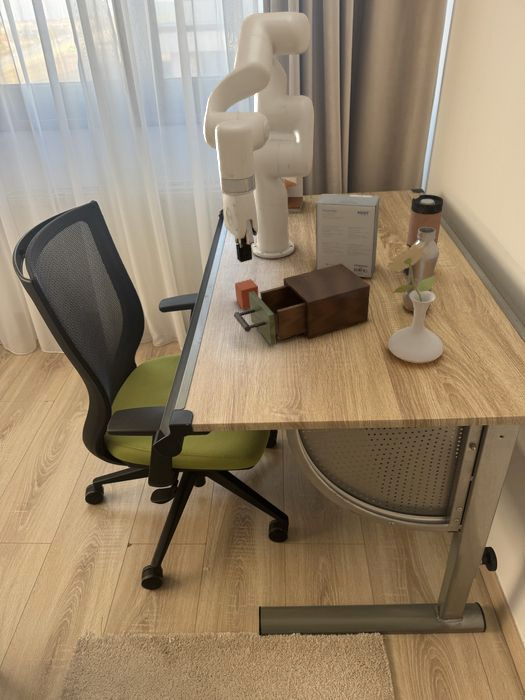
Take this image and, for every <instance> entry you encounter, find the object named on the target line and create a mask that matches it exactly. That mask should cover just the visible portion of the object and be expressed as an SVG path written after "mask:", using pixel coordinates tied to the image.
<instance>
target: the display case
mask: <svg viewBox="0 0 525 700" xmlns="http://www.w3.org/2000/svg"><path fill="white" fill-rule="evenodd" d="M296 139H297V138H296V136H295V135H270V136H269V139H268V140H296ZM303 178H304V177H281V178H280V180H281V181H282V182H283V184H284V185H285V187H286V190H287V194H288V213H301V211H302V208H303V203H304V179H303Z"/></svg>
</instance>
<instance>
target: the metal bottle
mask: <svg viewBox="0 0 525 700" xmlns="http://www.w3.org/2000/svg"><path fill="white" fill-rule="evenodd" d="M435 233H436V230H435V229H434V228H431V227H421V228H419V229H418V235H417V239H418V240H417V241H416V242H415V243H414V244H413V245H416V244H418V243H419V248H420V247H421V246H423V245H424V248H425V250H424V251H425V252H424V253H423V254H422V255H423V257H422V258H420V259H419V260H418V261H417V262H416V263H415V264H414V265H411V268H412V273H413V280H414V285H415V287H416V288H417V290H418V287H419V283H420V282H421V281H423V280H425V279H428V278H430V277H433V276H434V273H435V270H436V269H435V268H436V266H437V262H438V260H439V257H440V248H439V246H438V243H437V244H436V243H435V242H434V239H435ZM407 276H408V275H407ZM406 285H412V286H413V284H412V277H411V271H410V267H409V276H408V278H407V282H406ZM432 288H433V287H432ZM432 288H431V289H430V290H427V291H430V292H432V290H433V289H432ZM412 291H415V288H414V287H412V288H411V289H409V290H408V291H406V292H404V293H403V296H402V304H403V307H404V308H405V309H406V310H407V311H410V312H413V313H414V305H413V302H412V300H411V299H410V297H409V294H410V293H411V292H412ZM431 304H432V302H431V303H430V305H429V306H428V309H429V308H430V306H431Z"/></svg>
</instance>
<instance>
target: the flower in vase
mask: <svg viewBox="0 0 525 700" xmlns="http://www.w3.org/2000/svg"><path fill="white" fill-rule="evenodd" d="M424 250H425V248H424V245H423V246H421V247H420V248H419V243H418V244H416V245H412V246H411V248H410V247H409V246H407V245H406V246H405V247H404V248H403V250H399V252H398V253H397V254H394V255H392V257H391V259H392V260H390V261H389V262H388V263H387V264H386V267H387V268H388V269H387V271H389V272H397V273H398V272H400V271H402V272H403V270H404V271H405V268H408V267H410V271H411V277H412V284H413V286H412V285H407V284H402V285H400V286H398V287H397V288H395V289H394V290H393V291H392V294H397V293H398V294H399V293H400V294H401V293H403V294H404V292H406V291H408V290H409V289H411V288H412V287H414V288H415V291H412V292H411V293H410V294H409V297H410V299H411V300H412V302H413V305H414V312H413V318H412V323H411V324H410V325H409V326H406V327H403V328H401V329H398V330H397V331H395V332H394V333H392V334H391V336H390V337H389V339H388V340H387V348H388V349H389V351H390V353H391V354H392V355H393V356H395V357H396V358H397V359H399V360H401V361H404V362H407V363H413V364H425V363H430V362H433V361H435V360H437V359H438V358H439V357H440V356H442V354H443V352H444V344H443V341H442V339H440V337H439V336H438V335H437V334H435V332H433V331H431V330H430V329H428V328H427V327H426V326H425V321H426V316H427V315H426V314H427V311H428V309H429V308H428V306H429V305H430V306H431V304H432V303H433V302H434V301H435V299H436V295H435V293H434V292H433V291H431V292H430V291H427V290H430V289H431V288H433V287H434V284H435V280H436V276H435V275H433V277H430V278H428V279H425V280H423V281H421V282H420V283H419V287H418V290H417V288H416V287H415V285H414V280H413V273H412V268H411V265H414V264H415V263H416V262H417V261H418V260H419V259H420V258H422V257H423V255H422V254H423V253H424V252H425V251H424ZM430 303H431V304H430Z"/></svg>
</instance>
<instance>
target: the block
mask: <svg viewBox="0 0 525 700" xmlns="http://www.w3.org/2000/svg"><path fill="white" fill-rule="evenodd" d="M234 289H235V297H236V299H235V300H236V303H237V305H238V306H239V307H240V308H241V309H242V310H244V311H246V310H249V309H250V300H249V292H253V291H254V292H255V293H256V294H257V296H258V297H259V285H257V283H255V282H254V280H252V279H251V278H250V279H246V280H242V281H238V282H234ZM259 298H260V297H259Z"/></svg>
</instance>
